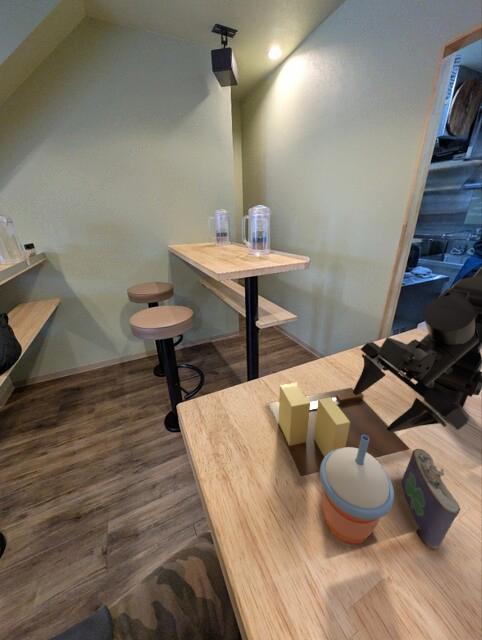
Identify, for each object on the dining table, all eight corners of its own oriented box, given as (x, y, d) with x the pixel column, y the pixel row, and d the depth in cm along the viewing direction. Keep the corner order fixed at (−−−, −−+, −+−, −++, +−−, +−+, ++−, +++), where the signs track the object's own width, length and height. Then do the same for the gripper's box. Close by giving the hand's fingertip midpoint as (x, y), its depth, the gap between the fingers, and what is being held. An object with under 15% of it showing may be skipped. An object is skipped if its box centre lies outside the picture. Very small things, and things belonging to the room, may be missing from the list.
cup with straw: (343, 576, 32) (368, 488, 25) (301, 506, 40) (310, 423, 33) (393, 540, 36) (428, 454, 28) (345, 482, 43) (363, 402, 36)
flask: (443, 552, 34) (470, 504, 30) (420, 548, 35) (443, 501, 30) (412, 484, 43) (429, 439, 38) (393, 482, 43) (408, 437, 39)
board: (350, 392, 64) (351, 387, 63) (408, 454, 48) (410, 448, 47) (268, 408, 60) (268, 403, 59) (300, 481, 44) (300, 476, 43)
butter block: (294, 419, 54) (296, 382, 50) (306, 442, 49) (310, 403, 45) (278, 422, 54) (279, 385, 50) (289, 446, 48) (291, 406, 44)
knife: (357, 393, 61) (358, 389, 60) (363, 400, 59) (364, 396, 58) (300, 405, 58) (300, 401, 58) (304, 411, 56) (304, 407, 56)
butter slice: (325, 435, 50) (330, 397, 46) (342, 463, 45) (350, 422, 41) (313, 438, 50) (318, 399, 46) (329, 466, 44) (336, 424, 40)
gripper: (377, 303, 48) (318, 361, 51) (481, 355, 31) (385, 437, 34) (403, 334, 52) (348, 385, 55) (506, 394, 36) (420, 462, 39)
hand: (369, 410), depth 46 cm, fingers open, 9 cm apart
